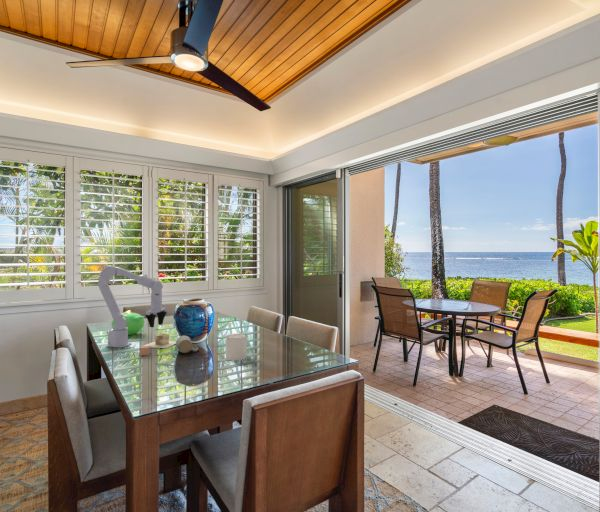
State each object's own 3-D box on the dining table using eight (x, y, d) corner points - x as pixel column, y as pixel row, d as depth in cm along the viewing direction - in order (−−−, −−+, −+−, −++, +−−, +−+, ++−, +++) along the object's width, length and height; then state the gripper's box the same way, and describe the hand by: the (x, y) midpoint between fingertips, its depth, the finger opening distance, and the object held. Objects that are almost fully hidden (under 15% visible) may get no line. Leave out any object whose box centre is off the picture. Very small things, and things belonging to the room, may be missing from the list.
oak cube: (155, 344, 198) (155, 335, 198) (160, 342, 203) (161, 333, 202) (163, 345, 196) (163, 335, 196) (168, 342, 201) (168, 333, 201)
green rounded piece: (142, 330, 234) (142, 308, 234) (146, 336, 220) (146, 311, 220) (110, 333, 225) (110, 310, 225) (112, 339, 211) (112, 314, 211)
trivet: (142, 347, 194) (142, 345, 194) (158, 340, 208) (158, 339, 208) (165, 348, 191) (165, 347, 191) (180, 342, 205) (180, 341, 205)
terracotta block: (139, 356, 178) (139, 347, 178) (142, 353, 182) (142, 345, 182) (148, 355, 178) (148, 347, 178) (150, 353, 182) (150, 345, 182)
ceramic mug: (178, 354, 181) (178, 339, 181) (175, 350, 188) (175, 335, 188) (199, 352, 186) (200, 337, 186) (196, 348, 193) (196, 334, 193)
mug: (224, 353, 184) (224, 332, 183) (245, 352, 186) (245, 331, 186) (226, 361, 170) (226, 338, 170) (247, 359, 173) (248, 337, 173)
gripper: (154, 303, 197) (153, 328, 197) (170, 300, 211) (170, 323, 211) (143, 303, 199) (142, 327, 199) (159, 299, 213) (159, 323, 213)
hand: (156, 325), depth 205 cm, fingers open, 7 cm apart
